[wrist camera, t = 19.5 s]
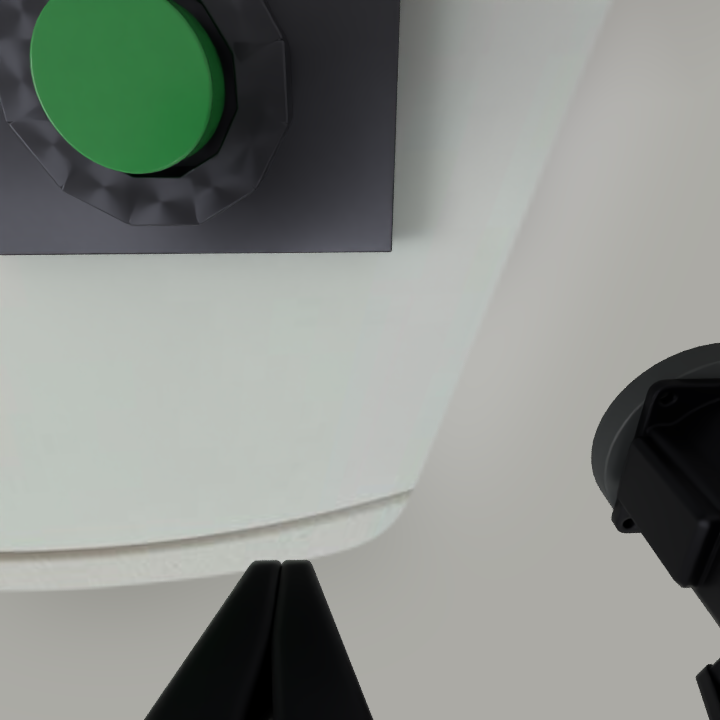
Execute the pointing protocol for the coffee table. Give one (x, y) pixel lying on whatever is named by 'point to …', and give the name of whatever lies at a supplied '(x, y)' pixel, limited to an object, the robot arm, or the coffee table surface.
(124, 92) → the button
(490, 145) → the coffee table surface
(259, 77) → the control block
